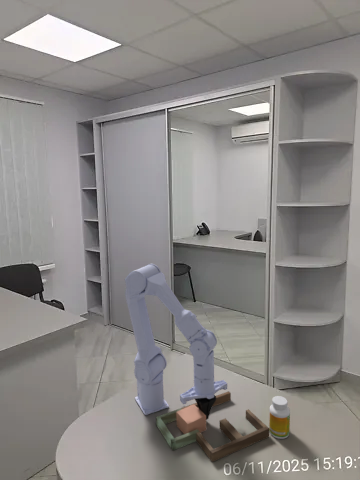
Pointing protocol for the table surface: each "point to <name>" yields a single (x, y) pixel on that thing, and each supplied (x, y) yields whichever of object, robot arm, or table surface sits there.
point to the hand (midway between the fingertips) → (204, 417)
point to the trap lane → (231, 433)
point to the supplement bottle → (279, 418)
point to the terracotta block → (191, 419)
